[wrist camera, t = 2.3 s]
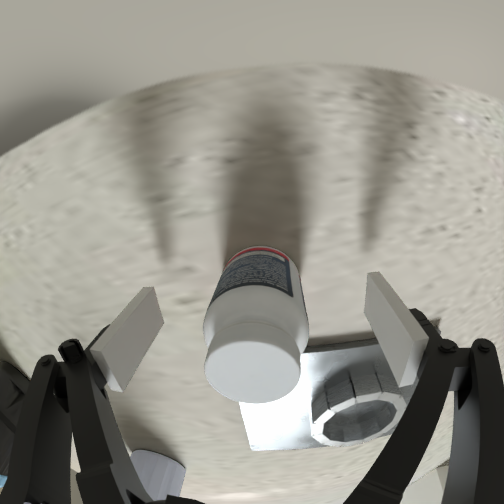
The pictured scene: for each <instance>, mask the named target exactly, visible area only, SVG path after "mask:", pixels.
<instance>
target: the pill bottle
mask: <svg viewBox="0 0 504 504" xmlns="http://www.w3.org/2000/svg"><path fill="white" fill-rule="evenodd" d="M203 334H204V339H205V342H206V345H207V347H208V353H207V356H206V360H205V364H204V371H205V375H206V378H207V380H208V382H209V383H210V385H211V386H212V387H213V388H214V389H215V390H216V391H217V392H219V393H220V394H221V395H223V396H225V397H227V398H229V399H231V400H234V401H237V402H241V403H246V404H265V403H270V402H274V401H277V400H280V399H282V398H284V397H285V396H287V395H288V394H290V393H291V392H292V391H293V390H294V389H295V387H296V386H297V384H298V382H299V380H300V376H301V363H300V359H301V355H302V353H303V352H304V350H305V348H306V346H307V343H308V339H309V323H308V317H307V313H306V308H305V302H304V296H303V291H302V285H301V280H300V276H299V272H298V270H297V268H296V266H295V264H294V263H293V261H292V260H291V259H290V258H289V257H288V256H287V255H286V254H284V253H283V252H281V251H280V250H278V249H275V248H272V247H268V246H253V247H249V248H246V249H243V250H241V251H240V252H238V253H236V254H235V255H234V256H233V257H232V258H231V259H230V260H229V261H228V263H227V264H226V266H225V268H224V270H223V273H222V275H221V278H220V280H219V282H218V285H217V287H216V290H215V292H214V295H213V297H212V300H211V302H210V304H209V307H208V309H207V312H206V315H205V319H204V323H203Z"/></svg>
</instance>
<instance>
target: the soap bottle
mask: <svg viewBox="0 0 504 504" xmlns="http://www.w3.org/2000/svg"><path fill="white" fill-rule="evenodd" d="M130 459H131V461H132V463H133V466H134V468H135V470H136V472H137V474H138V477H139V479H140V481H141V483H142V485H143V487H144V489H145V490H146V492H147V493H148V495H149V496H150V497H151V498H152V499H153V501H157V500H166V497H167V494H168V495H172V496H177V497H179V496H180V492H181V488H182V484H183V481H184V477H185V473H186V470H185V469H184V467H183V466H182V465H180V464H179V463H178V462H176V461H174V460H173V459H171V458H169V457H166V456H164V455H161V454H159V453H155V452H152V451H147V450H135V451H134V452H132V454H131V456H130Z"/></svg>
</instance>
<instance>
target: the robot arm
mask: <svg viewBox="0 0 504 504" xmlns="http://www.w3.org/2000/svg"><path fill="white" fill-rule="evenodd" d="M364 313H365V315H366V317H367V319H368V321H369V323H370V325H371V327H372V329H373V331H374V334H375V336H376V338H377V340H378V342H379V344H380V346H381V348H382V350H383V353H384V355H385V357H386V359H387V361H388V364H389V366H390V368H391V370H392V373H393V375H394V377H395V380H396V382H397V384H398V387H403V386H407V385H411V384H413V383H414V381H415V378H416V375H417V377H418V379H419V382H418V384H417V386H416V388H415V391H414V393H413V395H412V397H411V399H410V401H409V403H408V405H407V407H406V409H405V411H404V413H403V415H402V417H401V419H400V421H399V423H398V425H397V426H396V428H395V430H394V432H393V434H392V435H391V437H390V439H389V440H388V442H387V444H386V445H385V447H384V449H383V450H382V452H381V453H380V455H379V456H378V458H377V460H376V461H375V463H374V464H373V466H372V467H371V468H370V470H369V471H368V473H367V474H366V476H365V477H364V478H363V479H362V481H361V482H360V483H359V484H358V486H357V487H356V488H355V489H354V491H353V492H352V493H351V495H350V496H349V497H348V498H347V499H346V501H345V502H344V503H343V504H400V502H401V500H402V498H403V493H404V491H405V489H406V487H407V486H408V484H409V482H410V480H411V479H412V477H413V475H414V473H415V471H416V469H417V467H418V465H419V463H420V461H421V459H422V457H423V455H424V453H425V451H426V449H427V447H428V444H429V442H430V440H431V438H432V435H433V433H434V430H435V428H436V425H437V423H438V420H439V417H440V415H441V412H442V409H443V406H444V403H445V400H446V397H447V394H448V391H454V421H453V435H452V445H451V454H450V461H449V468H448V473H447V479H446V484H445V489H444V493H443V497H442V502H441V504H504V384H503V379H502V374H501V369H500V364H499V360H498V356H497V352H496V348H495V346H494V344H493V343H492V342H491V341H489V340H487V339H483V338H480V339H476V340H475V341H474V342H473V344H472V347H471V348H458V346H457V344H456V343H455V342H453V341H451V340H449V339H442V337H441V336H440V335H439V333H438V332H437V331H436V329H435V328H434V327H433V325H432V324H431V323H430V321H429V320H427V318H426V316H425V315H424V314H423V313H422V312H421V311H419V310H417V309H416V308H414V309H408V308H407V307H406V305H405V304H404V303H403V301H402V300H401V299H400V297H399V296H398V295H397V294H396V292H395V291H394V290H393V288H392V287H391V286H390V285H389V283H388V282H387V281H386V280H385V278H384V277H383V276H382V275H381V273H380V272H371V273H367V286H366V298H365V308H364ZM163 324H164V320H163V317H162V314H161V310H160V307H159V304H158V300H157V297H156V293H155V289H154V287H143V288H142V289H141V291H140V292H139V293H138V294H137V295H136V296H135V297H134V298H133V299H132V301H131V302H130V303H129V304H128V305H127V306H126V307H125V308H124V310H123V311H122V312H121V313H120V314H119V315H118V316H117V318H116V319H115V320H114V321H113V322H112V323H111V324H109V325H108V326H106V327H105V328H103V329H102V330H101V332H100V333H99V334H98V335H97V336H96V337H95V340H93V341H92V342H91V343H90V344H89V346H88V347H87V348H86V349H85V350H83V348H82V346H81V344H80V342H79V340H77V339H69V340H67V341H65V342H63V343H62V344H61V345H60V346H59V348H58V351H59V353H60V354H61V356H62V358H63V360H64V362H57V360H56V358H55V356H54V355H45V356H43V357H41V359H39V360H38V362H37V364H36V367H35V369H34V372H33V375H32V378H31V380H30V382H29V381H28V380H27V379H26V378H25V377H24V376H23V375H22V374H21V373H20V372H19V371H18V370H17V369H16V368H14V367H13V366H12V365H10V364H9V363H7V362H5V361H1V362H0V488H1V487H3V486H4V487H3V490H2V492H1V494H0V504H71V491H70V461H71V441H72V432H73V437H74V443H75V447H76V452H77V456H78V461H79V465H80V468H81V472H80V473H77V474H76V481H77V484H78V487H79V491H80V494H81V498H82V501H83V504H205V503H202V502H199V501H197V500H193V499H188V498H182V497H177V496H172V495H168V494H167V497H166V500H157V501H153V499H152V498H151V497H150V496H149V495H148V493H147V492H146V490H145V489H144V487H143V485H142V483H141V481H140V479H139V477H138V474H137V472H136V470H135V468H134V466H133V463H132V461H131V459H130V457H129V454H128V452H127V449H126V447H125V444H124V442H123V439H122V437H121V434H120V431H119V429H118V426H117V423H116V420H115V417H114V414H113V411H112V408H111V405H110V401H109V398H108V395H107V391H106V390H105V388H104V386H105V384H106V383H108V385H109V387H110V388H111V390H113V391H118V392H124V390H125V388H126V387H127V385H128V383H129V381H130V380H131V378H132V376H133V374H134V373H135V371H136V369H137V368H138V366H139V364H140V362H141V361H142V359H143V357H144V356H145V354H146V352H147V351H148V349H149V347H150V346H151V344H152V342H153V341H154V339H155V337H156V336H157V334H158V332H159V331H160V329H161V327H162V326H163Z"/></svg>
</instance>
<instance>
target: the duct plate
mask: <svg viewBox="0 0 504 504" xmlns="http://www.w3.org/2000/svg"><path fill="white" fill-rule="evenodd" d="M434 328H435V329H436V331H437V332H438V333H439V335H440V333H441V331H440V330H439V328H438V327H434ZM300 363H301V376H300V380H299V382H298V384H297V386H296V387H295V389H294V390H293V391H292V392H291V393H290V394H288V395H287V396H285V397H284V398H282V399H280V400H277V401H274V402H270V403H265V404H246V403H241V402H240V407H241V411H242V415H243V419H244V423H245V427H246V431H247V435H248V439H249V443H250V446H251V450H290V449H305V448H316V447H325V446H337V447H341V446H342V447H344V446H350V445H356V444H362V443H363V442H364V443H365V442H367V441H370V440H372V439H374V438H378V437H382V436H386V435H390V434H393V432H394V430H395V428H396V426H397V425H398V423H399V421H400V419H401V417H402V415H403V413H404V411H405V409H406V407H407V405H408V403H409V401H410V399H411V397H412V395H413V393H414V391H415V388H416V386H417V384H418V382H419V379H418V377H417V375H416V378H415V381H414V383H413V384H411V385H407V386H403V387H398V384H397V382H396V380H395V377H394V375H393V373H392V370H391V368H390V366H389V364H388V361H387V359H386V357H385V355H384V353H383V350H382V348H381V346H380V344H379V342H378V340H377V338H375V339H369V340H362V341H354V342H347V343H338V344H329V345H320V346H309V347H306V348H305V350H304V352H303V353H302V355H301V359H300Z"/></svg>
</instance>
